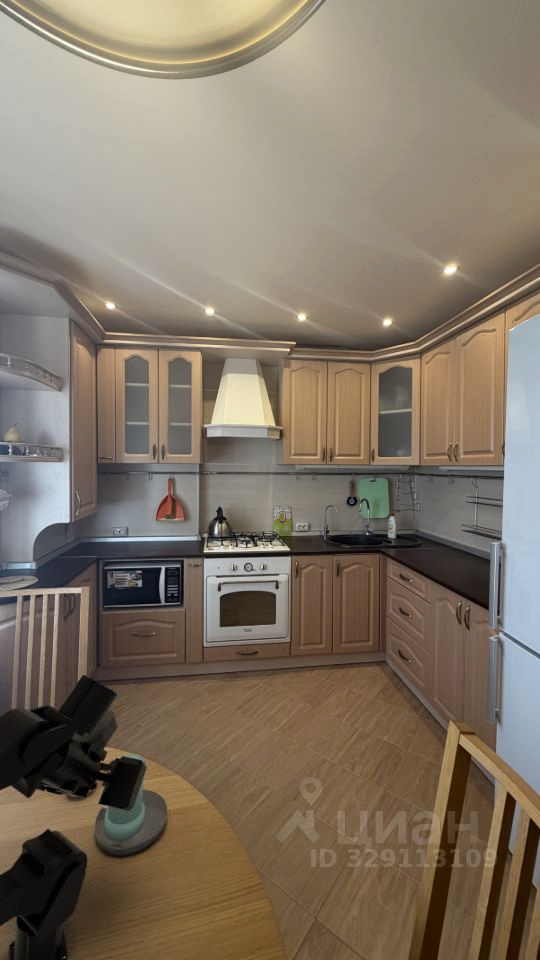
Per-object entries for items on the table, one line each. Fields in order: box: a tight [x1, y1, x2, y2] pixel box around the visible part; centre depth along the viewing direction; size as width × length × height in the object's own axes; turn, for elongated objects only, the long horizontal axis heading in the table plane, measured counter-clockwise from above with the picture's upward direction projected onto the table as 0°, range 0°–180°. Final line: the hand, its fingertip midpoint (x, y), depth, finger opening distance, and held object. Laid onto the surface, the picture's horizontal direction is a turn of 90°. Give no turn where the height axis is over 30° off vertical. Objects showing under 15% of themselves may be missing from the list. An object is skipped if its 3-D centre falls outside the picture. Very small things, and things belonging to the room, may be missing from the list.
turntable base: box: [95, 826, 165, 858], centre depth 76 cm, size 12×12×1 cm
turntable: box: [94, 789, 168, 851], centre depth 76 cm, size 13×13×1 cm
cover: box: [104, 753, 145, 841], centre depth 74 cm, size 7×7×11 cm
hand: (105, 785), depth 69 cm, fingers open, 5 cm apart
